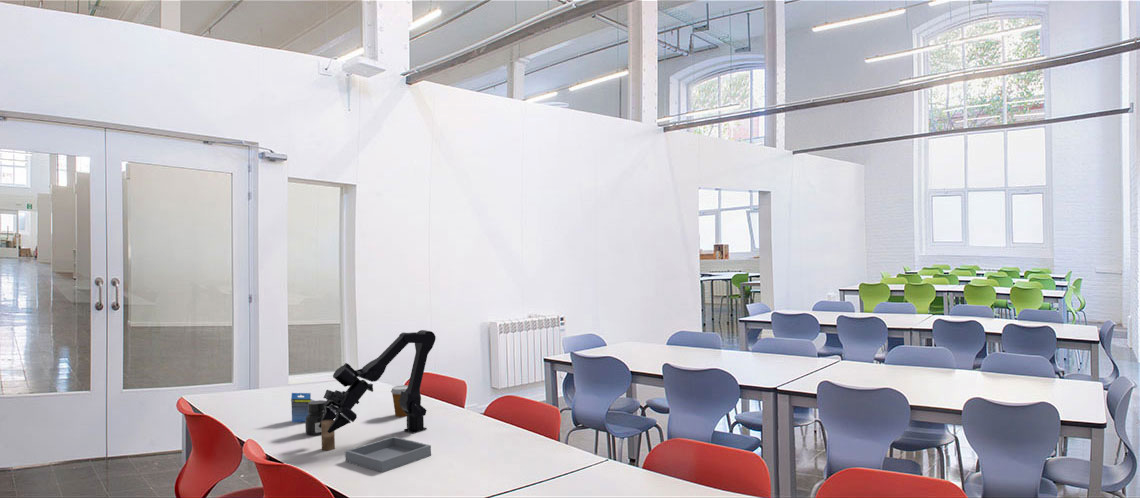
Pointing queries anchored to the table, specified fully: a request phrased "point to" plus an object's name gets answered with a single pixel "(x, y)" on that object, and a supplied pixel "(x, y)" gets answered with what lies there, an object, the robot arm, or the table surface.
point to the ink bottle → (314, 417)
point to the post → (327, 436)
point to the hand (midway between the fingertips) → (323, 429)
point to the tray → (388, 454)
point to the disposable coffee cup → (396, 397)
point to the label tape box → (300, 406)
